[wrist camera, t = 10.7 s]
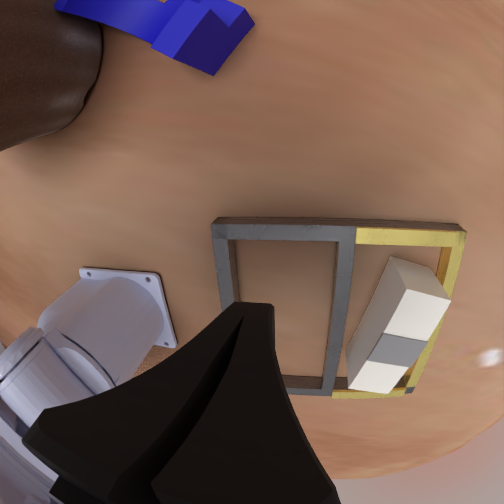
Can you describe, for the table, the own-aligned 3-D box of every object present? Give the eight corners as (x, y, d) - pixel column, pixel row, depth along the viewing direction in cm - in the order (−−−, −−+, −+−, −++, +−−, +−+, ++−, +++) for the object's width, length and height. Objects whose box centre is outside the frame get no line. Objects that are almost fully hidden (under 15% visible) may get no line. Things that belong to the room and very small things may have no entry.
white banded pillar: (345, 347, 22) (347, 389, 18) (388, 254, 18) (406, 289, 14) (381, 354, 22) (388, 395, 18) (429, 266, 18) (452, 302, 14)
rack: (238, 377, 26) (233, 391, 24) (217, 217, 19) (209, 226, 18) (409, 381, 22) (412, 395, 21) (457, 224, 16) (468, 233, 14)
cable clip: (255, 25, 14) (230, -14, 8) (214, 76, 16) (172, 58, 10) (133, -22, 12) (88, -45, 7) (103, 21, 14) (51, 8, 9)
